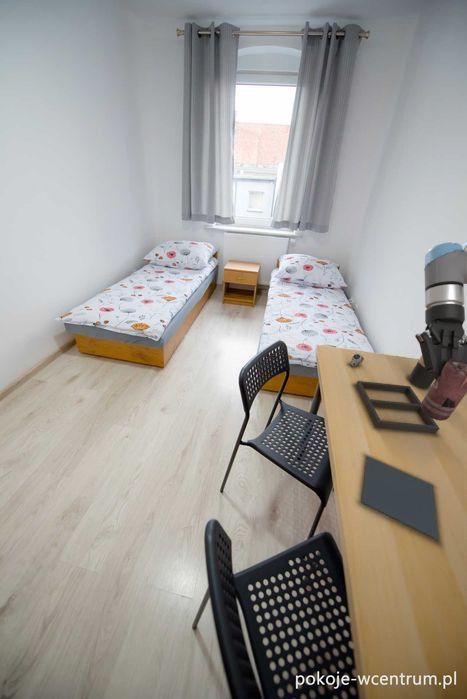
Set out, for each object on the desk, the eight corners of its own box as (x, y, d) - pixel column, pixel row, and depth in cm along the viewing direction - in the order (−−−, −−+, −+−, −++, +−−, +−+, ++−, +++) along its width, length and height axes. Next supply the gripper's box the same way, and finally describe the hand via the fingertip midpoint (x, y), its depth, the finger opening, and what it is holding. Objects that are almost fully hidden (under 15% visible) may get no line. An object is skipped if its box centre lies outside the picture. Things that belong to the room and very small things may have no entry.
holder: (406, 391, 100) (409, 386, 99) (435, 433, 85) (439, 428, 84) (355, 385, 100) (357, 380, 98) (375, 427, 84) (378, 422, 83)
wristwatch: (346, 363, 110) (351, 353, 107) (357, 360, 113) (362, 350, 110) (353, 369, 108) (358, 359, 105) (364, 365, 111) (369, 355, 108)
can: (426, 419, 65) (458, 372, 57) (415, 401, 70) (442, 355, 63) (453, 424, 64) (488, 377, 57) (439, 405, 70) (470, 360, 62)
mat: (431, 486, 71) (432, 485, 70) (437, 540, 60) (438, 539, 60) (366, 457, 76) (367, 456, 75) (361, 502, 65) (362, 501, 65)
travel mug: (412, 373, 110) (439, 330, 98) (432, 384, 105) (463, 340, 94) (404, 380, 106) (431, 336, 94) (425, 392, 101) (456, 347, 90)
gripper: (457, 315, 70) (460, 409, 66) (407, 309, 70) (407, 403, 66) (485, 305, 63) (490, 411, 59) (429, 299, 63) (430, 404, 59)
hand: (446, 407), depth 63 cm, fingers closed
